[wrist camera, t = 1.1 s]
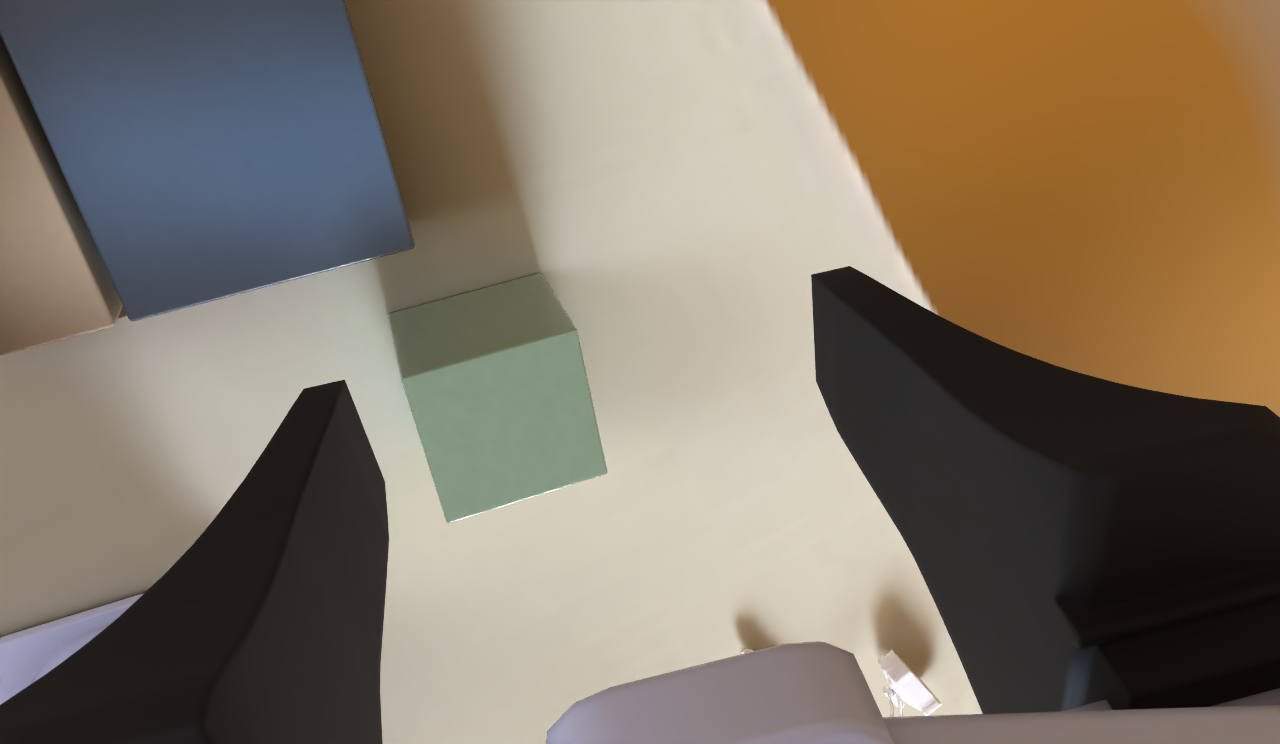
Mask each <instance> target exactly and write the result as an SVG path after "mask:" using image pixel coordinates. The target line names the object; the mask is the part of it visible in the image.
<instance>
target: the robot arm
mask: <svg viewBox="0 0 1280 744" xmlns="http://www.w3.org/2000/svg"><path fill="white" fill-rule="evenodd" d="M811 277H812V299H813V322H814V344H815V366H816V382H817V384H818V386H819V389H820V391H821V394H822V396H823V398H824V401H825V403H826V406H827V408H828V410H829V413H830V415H831V417H832V419H833V421H834V424H835V426H836V428H837V430H838V432H839V434H840V436H841V438H842V439H843V441H844V443H845V444H846V446H847V448H848V449H849V451H850V453H851V454H852V456H853V457H854V459H855V461H856V462H857V464H858V466H859V467H860V469H861V471H862V472H863V474H864V475H865V477H866V479H867V480H868V482H869V483H870V485H871V487H872V488H873V490H874V492H875V493H876V495H877V496H878V498H879V500H880V501H881V503H882V504H883V506H884V508H885V509H886V511H887V512H888V514H889V516H890V517H891V519H892V521H893V522H894V524H895V525H896V527H897V529H898V530H899V532H900V533H901V535H902V537H903V539H904V541H905V542H906V544H907V546H908V548H909V550H910V551H911V553H912V555H913V557H914V559H915V561H916V563H917V565H918V567H919V569H920V572H921V574H922V576H923V578H924V580H925V582H926V584H927V586H928V589H929V591H930V593H931V595H932V597H933V599H934V601H935V604H936V606H937V608H938V610H939V612H940V615H941V617H942V619H943V621H944V624H945V626H946V628H947V630H948V633H949V635H950V637H951V639H952V642H953V644H954V646H955V648H956V651H957V653H958V655H959V658H960V660H961V662H962V665H963V667H964V669H965V672H966V674H967V677H968V679H969V681H970V684H971V686H972V689H973V691H974V693H975V696H976V698H977V701H978V703H979V705H980V708H981V710H982V713H983V714H972V715H941V716H910V717H882V715H881V713H880V710H879V708H878V706H877V704H876V702H875V700H874V697H873V695H872V693H871V691H870V689H869V686H868V684H867V682H866V680H865V678H864V675H863V673H862V671H861V669H860V667H859V665H858V663H857V661H856V659H855V657H854V654H852V653H850V652H847V651H845V650H842V649H840V648H837V647H835V646H832V645H830V644H827V643H825V642H818V641H817V642H804V643H790V644H781V645H777V646H773V647H769V648H765V649H761V650H757V651H753V652H749V653H745V654H741V655H737V656H733V657H729V658H725V659H721V660H717V661H713V662H709V663H705V664H701V665H697V666H693V667H689V668H685V669H681V670H677V671H673V672H669V673H665V674H661V675H658V676H654V677H650V678H646V679H642V680H638V681H634V682H630V683H626V684H622V685H618V686H614V687H610V688H608V689H605V690H603V691H601V692H598V693H596V694H594V695H592V696H589V697H587V698H585V699H582V700H580V701H578V702H576V703H574V704H573V705H572V706H571V707H570V708H569V709H568V710H567V711H566V712H565V713H564V714H563V715H562V716H561V718H560V719H559V720H558V721H557V722H556V723H555V724H554V725H553V726H552V727H551V728H550V729H549V730H548V731H547V740H546V744H1280V417H1278V416H1277V415H1276V414H1275V413H1274V412H1272V411H1271V410H1270V409H1268V408H1267V407H1266V406H1259V405H1250V404H1242V403H1233V402H1224V401H1216V400H1207V399H1198V398H1191V397H1184V396H1179V395H1174V394H1168V393H1163V392H1158V391H1152V390H1147V389H1142V388H1137V387H1133V386H1128V385H1124V384H1119V383H1115V382H1111V381H1108V380H1104V379H1100V378H1096V377H1092V376H1089V375H1085V374H1081V373H1078V372H1074V371H1071V370H1068V369H1065V368H1061V367H1058V366H1055V365H1052V364H1049V363H1047V362H1044V361H1041V360H1038V359H1036V358H1033V357H1030V356H1027V355H1024V354H1022V353H1019V352H1016V351H1014V350H1011V349H1009V348H1006V347H1004V346H1001V345H999V344H997V343H995V342H992V341H990V340H988V339H986V338H983V337H981V336H979V335H977V334H975V333H973V332H970V331H968V330H966V329H964V328H962V327H960V326H958V325H956V324H954V323H952V322H950V321H948V320H946V319H944V318H942V317H940V316H938V315H936V314H935V313H933V312H931V311H929V310H927V309H925V308H923V307H922V306H920V305H918V304H916V303H914V302H913V301H911V300H909V299H907V298H906V297H904V296H902V295H900V294H899V293H897V292H895V291H893V290H892V289H890V288H888V287H886V286H885V285H883V284H881V283H879V282H878V281H876V280H874V279H872V278H871V277H869V276H867V275H865V274H864V273H862V272H860V271H858V270H856V269H854V268H852V267H850V266H848V267H844V268H839V269H835V270H831V271H826V272H822V273H817V274H813V275H811ZM388 545H389V532H388V516H387V503H386V491H385V481H384V478H383V476H382V473H381V471H380V468H379V466H378V463H377V461H376V458H375V455H374V453H373V450H372V448H371V445H370V443H369V440H368V438H367V435H366V433H365V430H364V428H363V425H362V423H361V420H360V417H359V415H358V412H357V410H356V407H355V405H354V402H353V400H352V397H351V395H350V392H349V390H348V387H347V384H346V382H345V380H341V381H337V382H332V383H328V384H323V385H319V386H314V387H310V388H305V389H303V391H302V392H301V394H300V395H299V397H298V398H297V400H296V401H295V403H294V404H293V406H292V407H291V409H290V411H289V412H288V414H287V415H286V417H285V418H284V420H283V422H282V423H281V425H280V426H279V428H278V429H277V431H276V433H275V434H274V436H273V437H272V439H271V440H270V442H269V443H268V445H267V447H266V448H265V450H264V451H263V453H262V454H261V456H260V457H259V459H258V460H257V462H256V463H255V464H254V466H253V467H252V469H251V470H250V472H249V473H248V475H247V476H246V478H245V479H244V481H243V482H242V483H241V485H240V486H239V487H238V489H237V490H236V491H235V493H234V494H233V495H232V497H231V498H230V499H229V500H228V502H227V503H226V504H225V506H224V507H223V508H222V510H221V511H220V512H219V514H218V515H217V516H216V518H215V519H214V520H213V522H212V523H211V524H210V525H209V526H208V528H207V529H206V530H205V531H204V532H203V533H202V535H201V536H200V537H199V538H198V539H197V540H196V542H195V543H194V544H193V545H192V546H191V547H190V548H189V549H188V550H187V551H186V552H185V554H184V555H183V556H182V557H181V558H180V559H179V560H178V561H177V562H176V563H175V564H174V565H173V566H172V567H171V568H170V569H169V571H168V572H167V573H166V574H165V575H164V576H163V577H162V578H160V579H159V580H158V581H157V582H156V583H155V584H154V585H153V586H152V587H151V588H150V589H149V590H148V591H146V592H145V593H142V594H139V595H136V596H133V597H129V598H126V599H123V600H120V601H116V602H113V603H110V604H107V605H104V606H100V607H97V608H94V609H91V610H87V611H84V612H81V613H78V614H74V615H71V616H68V617H65V618H61V619H58V620H55V621H52V622H48V623H45V624H42V625H39V626H35V627H32V628H29V629H26V630H22V631H19V632H16V633H13V634H9V635H6V636H3V637H0V744H382V726H381V704H380V662H381V648H382V634H383V620H384V606H385V592H386V578H387V562H388Z"/></svg>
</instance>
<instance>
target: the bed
mask: <svg viewBox="0 0 1280 744" xmlns="http://www.w3.org/2000/svg"><path fill="white" fill-rule="evenodd" d="M414 246H415V244H414V240H413V237H412V233H411V230H410V226H409V223H408V220H407V216H406V213H405V209H404V206H403V202H402V199H401V195H400V192H399V188H398V185H397V181H396V178H395V175H394V171H393V168H392V164H391V161H390V157H389V154H388V150H387V147H386V143H385V140H384V137H383V133H382V130H381V126H380V123H379V119H378V116H377V112H376V109H375V105H374V102H373V98H372V95H371V92H370V88H369V85H368V81H367V78H366V74H365V71H364V67H363V64H362V60H361V57H360V54H359V50H358V47H357V43H356V40H355V36H354V33H353V29H352V26H351V22H350V19H349V16H348V12H347V9H346V5H345V2H344V0H0V356H1V355H5V354H9V353H13V352H17V351H21V350H24V349H28V348H32V347H36V346H40V345H44V344H48V343H51V342H55V341H59V340H63V339H67V338H71V337H75V336H78V335H82V334H86V333H90V332H94V331H98V330H102V329H105V328H109V327H112V326H114V325H115V323H116V320H117V319H118V318H122V317H125V316H128V318H129V319H130V320H131V321H136V320H140V319H144V318H148V317H152V316H156V315H159V314H163V313H167V312H171V311H175V310H179V309H183V308H186V307H190V306H194V305H198V304H202V303H206V302H210V301H213V300H217V299H221V298H225V297H229V296H233V295H236V294H240V293H244V292H248V291H252V290H256V289H260V288H263V287H267V286H271V285H275V284H279V283H283V282H287V281H290V280H294V279H298V278H302V277H306V276H310V275H314V274H317V273H321V272H325V271H329V270H333V269H337V268H341V267H344V266H348V265H352V264H356V263H360V262H364V261H368V260H371V259H375V258H379V257H383V256H387V255H391V254H395V253H398V252H402V251H406V250H410V249H413V248H414Z"/></svg>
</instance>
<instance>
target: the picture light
mask: <svg viewBox="0 0 1280 744" xmlns="http://www.w3.org/2000/svg"><path fill="white" fill-rule="evenodd" d="M739 651H740V653H741V654H745V653H749V652H753V650H751V649H748V648H746V649H745V648H744V647H741V648H740V650H739ZM878 664H879V665H880V666H881V668H882V669H883V673H884V676H885V678H886V680H887V681H888V683H889V685H890V686H891V688H892V689H890V688H889V687H888V686H885V687H883V688H882V692H883V693H884V694H885V695H886V696H887V697H888V698H889V702H890V708H891V711H890V717H893V713H894V708H893V703H894V704H895V705H896V706H897V707H898V709H899V713H900V717H903V713H902V708H903V707H904V703H903V702H902V700H904V701H905V702H906V703H908V704H909V705H911V706H913V707H914V708H916V709H919V710H921V711H922V712H923V713H924V714H925V715H926V716H929V715H930V714H931V713H932V712H934V711H935V710H936V709H937V708H938V707H940V706H941V705H942V704H941V703H940V701H939V700H938V699H937V698H936V697H935V695H934V694H933V693H932V692H931V691H930V690H929V688H928V687H927V686H926V685H925V684H924V683H923V682H922V681H921V680H920V679H919V678H918V677H917V676H916V674H915V673H914V672H913V671H912V670H911V669H910V668H909V667H908V666H907V665H906V664H905V663H904V662H903V661H902V659H901V658H900V657H899V656H898V655H897V654H896V653H895V652H894V651H893V650H891V651H890V652H889V653H887V654H886V655H885V656H884V657H883V658H881V659H880V660H879V661H878Z"/></svg>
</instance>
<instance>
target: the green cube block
mask: <svg viewBox="0 0 1280 744" xmlns="http://www.w3.org/2000/svg"><path fill="white" fill-rule="evenodd" d="M388 319H389V324H390V328H391V333H392V338H393V343H394V347H395V352H396V357H397V361H398V366H399V371H400V376H401V380H402V383H403V386H404V389H405V393H406V396H407V399H408V402H409V405H410V408H411V411H412V415H413V418H414V421H415V424H416V427H417V430H418V433H419V437H420V440H421V443H422V446H423V449H424V452H425V455H426V459H427V462H428V465H429V468H430V471H431V474H432V477H433V481H434V484H435V487H436V490H437V493H438V496H439V500H440V503H441V506H442V509H443V512H444V515H445V518H446V522H447V523H451V522H454V521H458V520H461V519H464V518H467V517H470V516H473V515H477V514H480V513H483V512H486V511H489V510H493V509H496V508H499V507H502V506H505V505H509V504H512V503H515V502H518V501H521V500H525V499H528V498H531V497H534V496H537V495H541V494H544V493H547V492H550V491H553V490H557V489H560V488H563V487H566V486H569V485H573V484H576V483H579V482H582V481H585V480H589V479H592V478H595V477H598V476H601V475H604V474H607V468H606V463H605V458H604V454H603V449H602V444H601V440H600V435H599V430H598V426H597V421H596V417H595V412H594V407H593V403H592V398H591V393H590V389H589V384H588V380H587V375H586V370H585V366H584V361H583V356H582V352H581V347H580V343H579V338H578V333H577V329H576V328H575V326H574V324H573V323H572V321H571V320H570V318H569V316H568V315H567V313H566V312H565V310H564V308H563V307H562V305H561V304H560V302H559V301H558V299H557V297H556V296H555V294H554V293H553V291H552V289H551V288H550V286H549V285H548V283H547V281H546V280H545V278H544V277H543V275H542V273H538V274H534V275H530V276H527V277H523V278H519V279H515V280H512V281H508V282H504V283H501V284H497V285H493V286H490V287H486V288H482V289H479V290H475V291H471V292H467V293H464V294H460V295H456V296H453V297H449V298H445V299H442V300H438V301H434V302H430V303H427V304H423V305H419V306H416V307H412V308H408V309H405V310H401V311H397V312H393V313H390V314H388Z"/></svg>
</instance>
